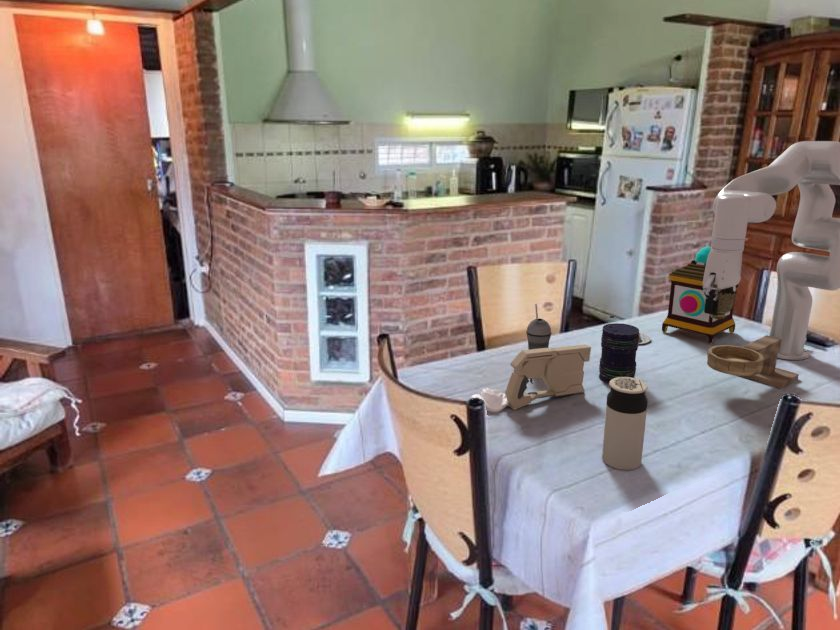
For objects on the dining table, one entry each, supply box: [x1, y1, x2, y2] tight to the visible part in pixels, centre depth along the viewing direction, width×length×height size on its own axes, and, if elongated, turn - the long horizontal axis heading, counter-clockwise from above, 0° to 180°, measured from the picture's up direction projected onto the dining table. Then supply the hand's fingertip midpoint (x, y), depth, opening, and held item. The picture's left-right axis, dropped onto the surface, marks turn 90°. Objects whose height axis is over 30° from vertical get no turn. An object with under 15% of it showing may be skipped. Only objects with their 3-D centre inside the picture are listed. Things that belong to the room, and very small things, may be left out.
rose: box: [471, 387, 509, 413], centre depth 153 cm, size 10×4×10 cm
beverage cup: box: [526, 303, 552, 350], centre depth 172 cm, size 7×7×20 cm
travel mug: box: [601, 377, 649, 471], centre depth 123 cm, size 8×8×18 cm
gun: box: [504, 344, 592, 411], centre depth 153 cm, size 24×3×15 cm, turn 116°
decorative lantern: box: [661, 246, 742, 345], centre depth 197 cm, size 20×20×30 cm
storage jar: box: [598, 315, 640, 385], centre depth 164 cm, size 10×10×18 cm
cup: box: [705, 286, 738, 319], centre depth 154 cm, size 8×7×8 cm
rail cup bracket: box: [706, 334, 799, 389], centre depth 159 cm, size 30×14×12 cm, turn 127°
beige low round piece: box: [638, 332, 652, 345], centre depth 197 cm, size 12×12×5 cm
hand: (718, 310), depth 154 cm, fingers closed on cup, 6 cm apart
